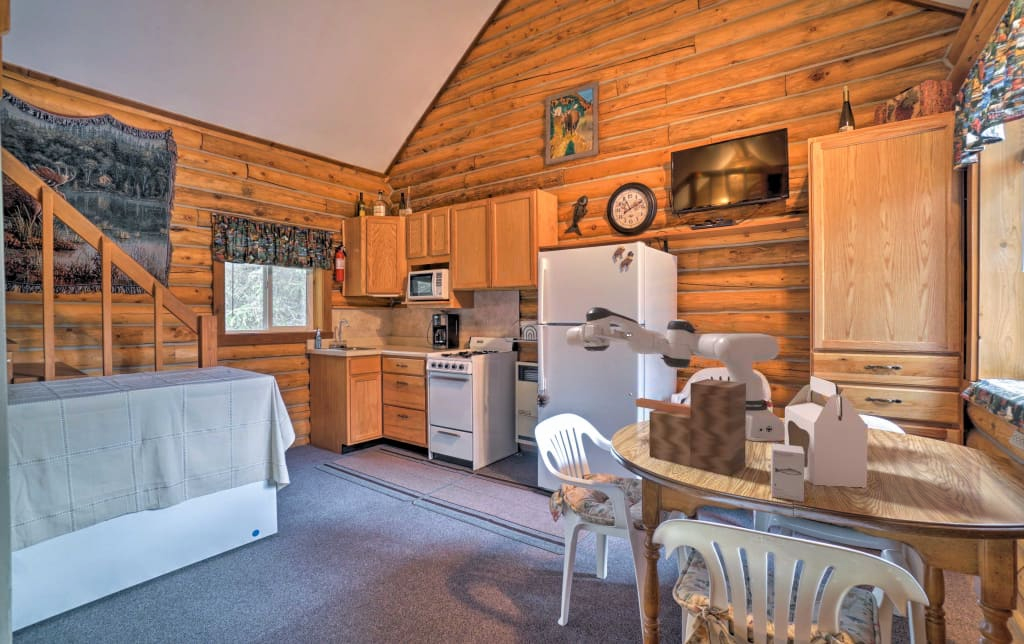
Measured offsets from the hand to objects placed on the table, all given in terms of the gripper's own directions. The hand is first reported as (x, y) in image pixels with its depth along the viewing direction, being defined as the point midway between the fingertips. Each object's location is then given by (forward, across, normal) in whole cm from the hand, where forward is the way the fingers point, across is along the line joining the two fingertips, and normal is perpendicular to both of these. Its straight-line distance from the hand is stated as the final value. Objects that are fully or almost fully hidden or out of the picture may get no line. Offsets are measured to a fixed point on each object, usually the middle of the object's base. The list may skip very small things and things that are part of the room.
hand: (623, 333), depth 177 cm
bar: (+18, -2, -27) cm, 32 cm away
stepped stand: (+28, -6, -42) cm, 51 cm away
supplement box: (+57, -2, -46) cm, 73 cm away
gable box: (+55, -27, -42) cm, 74 cm away
